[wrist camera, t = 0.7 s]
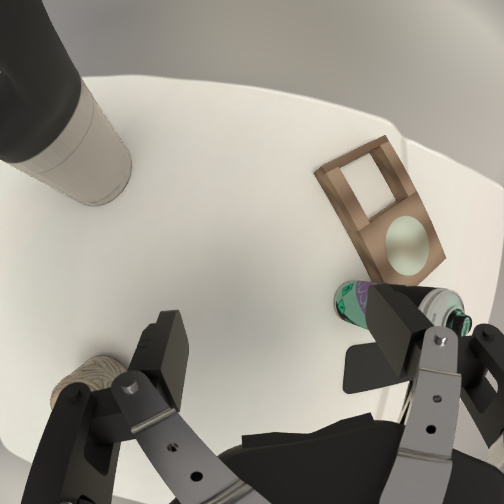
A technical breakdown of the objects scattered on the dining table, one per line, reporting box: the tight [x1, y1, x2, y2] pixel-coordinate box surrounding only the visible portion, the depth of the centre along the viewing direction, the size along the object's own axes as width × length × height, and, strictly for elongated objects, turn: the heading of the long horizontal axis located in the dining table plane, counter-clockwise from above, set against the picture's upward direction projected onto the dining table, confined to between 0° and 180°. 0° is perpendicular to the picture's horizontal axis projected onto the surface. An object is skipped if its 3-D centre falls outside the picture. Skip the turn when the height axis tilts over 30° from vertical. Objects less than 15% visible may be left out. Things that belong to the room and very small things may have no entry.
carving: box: [50, 356, 127, 410], centre depth 26 cm, size 6×8×12 cm
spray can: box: [334, 281, 472, 337], centre depth 27 cm, size 6×6×20 cm
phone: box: [343, 342, 410, 394], centre depth 37 cm, size 7×1×15 cm
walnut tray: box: [314, 135, 446, 286], centre depth 36 cm, size 20×12×3 cm, turn 31°
